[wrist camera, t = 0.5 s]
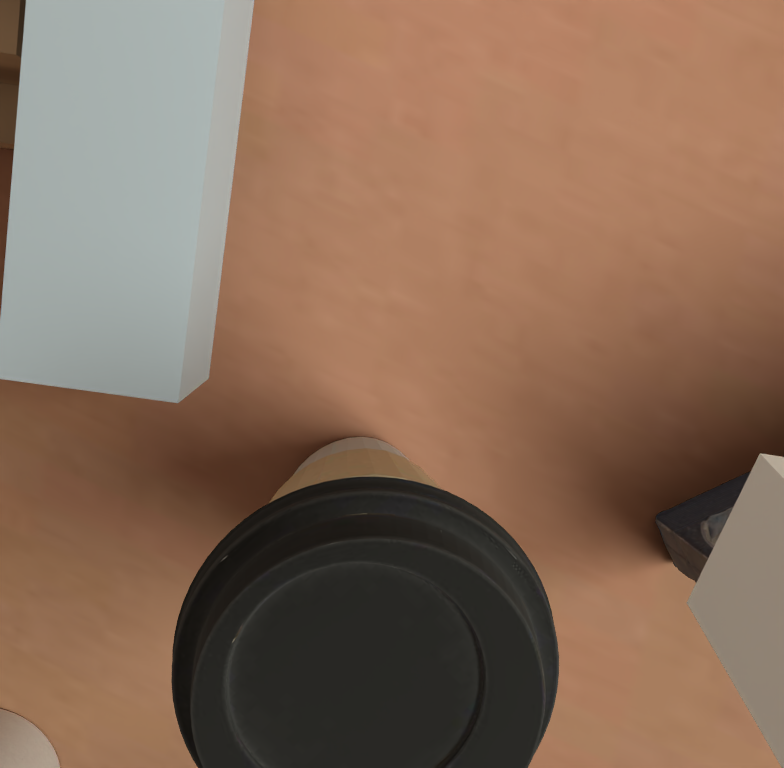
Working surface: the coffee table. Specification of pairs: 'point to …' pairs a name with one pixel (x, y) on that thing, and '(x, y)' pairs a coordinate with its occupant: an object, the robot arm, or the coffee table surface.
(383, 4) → the coffee table surface
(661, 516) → the vhs cassette tape
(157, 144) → the beam
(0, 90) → the fulcrum
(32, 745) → the coffee cup
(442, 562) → the coffee cup
